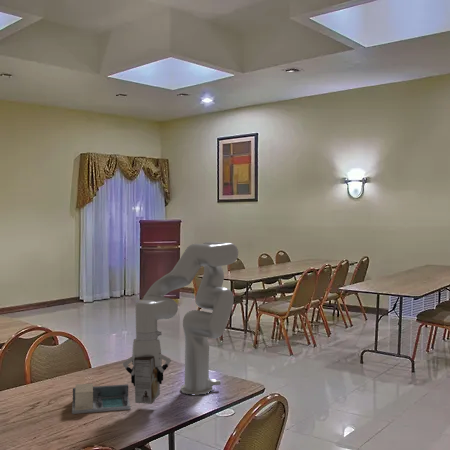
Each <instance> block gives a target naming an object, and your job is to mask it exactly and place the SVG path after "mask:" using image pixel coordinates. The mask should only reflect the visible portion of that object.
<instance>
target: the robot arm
mask: <svg viewBox="0 0 450 450" xmlns="http://www.w3.org/2000/svg"><path fill="white" fill-rule="evenodd" d="M238 257H239V250H238V247H237V246H236V245H235V244H234V243H233V242H222V241H221V242H220V241H205V242H202V243H192V244H190V245H188V246H187V247H186V249H185V250H184V252H183V253H182V255H181V256H180V258H179V260H178V261H177V262H176V264H175V265H174V267H173V269H172V270H171V271H170V272H169V273H166V274H165V275H163V276H162V277H161V278H159V279H157V280H156V281H155V282H153V284H151V286H150V287H149V289H147V291H146V293H145V294H144V296H143V298H142V299H141V300H140V301H137V302H136V304H135V338H134V339H133V343H132V351H131V356H130V357H129V358H128V359H126V360H124V361H123V362H122V366H123V367H124V369H125V370H126V371H127V372H128V374H130V376H131V377H130V378H131V380H130V381H131V384H133V385H132V386H133V387H135V366H134V358H138V357H152V356H154V358H155V367H157V368H158V369H159V371H158V378H159V384H161V385H162V383H163V381H164V372H165V370H166V369H168V367H169V366H170V363H171V362H172V359H171V358H170V357H167V356H166V355H164V354H162V348H161V340H160V337H159V336H162V331H159V330H158V320H169V319H171V318H174V317H175V315H177V314H178V310H179V307H178V303H177V302H176V301H175V299H172V298H169V297H165V296H166V295H167V294H168V293H170V292H172V291H175V290H178V289H181V288H184V287H186V286H189V285H190V284H191V283H192V281H193V279H195V277H196V275H197V273H198V272H199V270H200V269H201V267H203V275H202V278H201V281H200V284H199V287H198V290H197V292H196V295H195V300H194V301H195V304H196V306H197V307H198V308H200V309H204V310H197V309H194V310H190V311H187V312H186V313H185V314H184V315H183V318H182V328H183V334H184V384H183V385H181V386H180V392H181V391H182V392H181V393H183V394H185V393H186V394H185V395H188V394H195V395H194V396H200V395H199V394H205V395H207V394H206V393H208V392H210V391H211V390H212V391H213V386H221V380H220V379H219V380H216V378H215V379H213V378H212V379H211V378H210V377H209V376H210V373H209V372H210V345H209V340H208V339H218V338H219V339H220V337H221V336H223V334H224V332H225V330H226V328H227V325H228V322H229V319H230V316H231V313H232V310H233V307H234V300H235V299H234V293H233V292H232V290H231V289H229V288H227V287H224V286H223V283H224V280H225V273H224V270H223V268H222V267H223V266H229V265H231V264H233V263H235V262H236V261H237V260H238ZM205 310H210V311H211V312H209V311H205ZM163 360H164V361H165V363H164V364H163V365H162V362H163ZM130 363H131V364H132V368H131V367H130V366H129V364H130ZM210 393H211V392H210ZM208 394H209V393H208Z"/></svg>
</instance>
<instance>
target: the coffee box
mask: <svg viewBox="0 0 450 450" xmlns="http://www.w3.org/2000/svg"><path fill="white" fill-rule="evenodd" d="M134 366H135V386H134V401H135V402H134V403H135V404H147V405H149V404H150V405H151V404H153V403H154V402H155V401H156V400H157V399H158V397H159V396H160V395H161V390H160V387H161V386H160V384H159V378H158V371H159V369H158V368H157V367H155V358H154V356H152V357H138V358H134Z"/></svg>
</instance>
